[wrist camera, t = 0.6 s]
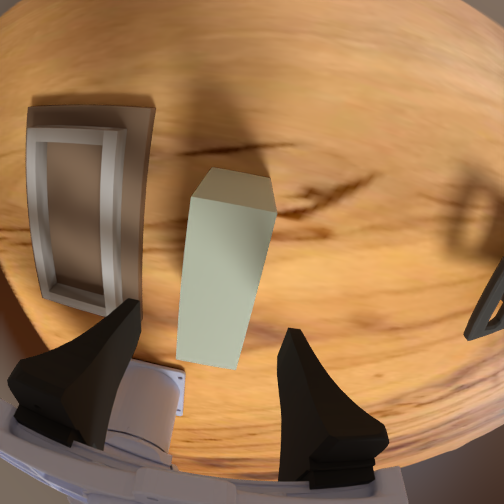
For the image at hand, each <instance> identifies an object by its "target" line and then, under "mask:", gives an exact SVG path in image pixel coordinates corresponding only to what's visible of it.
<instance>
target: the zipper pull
mask: <svg viewBox="0 0 504 504" xmlns="http://www.w3.org/2000/svg"><path fill="white" fill-rule="evenodd" d="M500 299H501V300H502V301H503V304H502V305H501V307H500V309H499V311H498V312H497V314H496V316H495V317H494V318H493V319H492V320H490V321H489V319H490V317H491V315H492V314H493V312H494V310H495V308H496V307H497V305H498V303H499V301H500ZM502 329H504V257H503V258H502V260H501V261H500V263H499V265H498V266H497V268H496V270H495V271H494V273H493V275H492V277H491V278H490V280H489V282H488V284H487V286H486V288H485V289H484V291H483V293H482V295H481V297H480V299H479V301H478V303H477V305H476V307H475V309H474V311H473V313H472V315H471V317H470V319H469V321H468V324H467V326H466V329H465V331H464V337H465V338H466V339H467V340H468V341H471V340H474V339H477V338H480V337H483V336H486V335H488V334H491V333H494V332H496V331H499V330H502Z"/></svg>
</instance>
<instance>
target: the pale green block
mask: <svg viewBox="0 0 504 504" xmlns="http://www.w3.org/2000/svg"><path fill="white" fill-rule="evenodd" d="M276 216H277V209H276V204H275V199H274V194H273V188H272V183H271V178H268V177H263V176H258V175H253V174H248V173H243V172H237V171H232V170H227V169H221V168H216V167H212V168H211V169H210V170H209V172H208V173H207V175H206V176H205V177H204V179H203V180H202V182H201V183H200V185H199V186H198V187H197V189H196V190H195V192H194V193H193V195H192V196H191V201H190V209H189V216H188V224H187V233H186V241H185V250H184V260H183V270H182V280H181V292H180V304H179V317H178V333H177V350H176V359H178V360H183V361H188V362H193V363H198V364H203V365H209V366H214V367H220V368H226V369H233V370H236V368H237V364H238V360H239V357H240V353H241V349H242V346H243V342H244V338H245V335H246V331H247V327H248V323H249V320H250V316H251V312H252V308H253V305H254V301H255V297H256V293H257V289H258V286H259V282H260V278H261V274H262V270H263V266H264V263H265V259H266V255H267V251H268V247H269V243H270V239H271V235H272V231H273V228H274V224H275V220H276Z"/></svg>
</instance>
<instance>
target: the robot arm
mask: <svg viewBox="0 0 504 504" xmlns="http://www.w3.org/2000/svg"><path fill="white" fill-rule="evenodd" d="M140 333H141V315H140V300H135V299H131V298H128V299H126V300H125V301H124V302H123V303H122V304H120V305H119V306H118V307H117V308H116V309H115V310H113V311H112V312H111V313H110V314H109V315H107V316H106V317H105V318H104V319H102V320H101V321H100V322H99V323H97V324H96V325H95V326H93V327H92V328H90V329H89V330H88V331H86V332H85V333H83V334H82V335H80V336H79V337H77V338H75V339H74V340H72V341H70V342H68V343H66V344H64V345H62V346H60V347H58V348H55V349H53V350H51V351H48V352H45V353H43V354H40V355H37V356H33V357H29V358H26V359H22V360H20V361H19V362H18V364H17V365H16V367H15V368H14V370H13V371H12V373H11V375H10V377H9V378H8V380H7V381H8V386H9V388H10V390H11V392H12V393H13V395H14V396H15V398H16V399H17V401H18V403H19V406H18V408H17V409H16V408H15V407H14V406H13V405H12V404H10V403H8V402H6V401H5V400H3V399H2V398H0V457H1V458H2V459H4V460H6V461H7V462H9V463H10V464H12V465H14V466H15V467H17V468H18V469H20V470H22V471H23V472H25V473H27V474H28V475H30V476H32V477H34V478H35V479H37V480H39V481H41V482H43V483H44V484H46V485H48V486H50V487H52V488H54V489H56V490H58V491H60V492H62V493H64V494H66V495H67V499H68V501H69V502H70V504H409V503H408V499H407V494H406V490H405V486H404V482H403V478H402V474H401V470H400V467H399V466H395V467H389V468H383V469H379V470H376V471H373V466H374V465H375V459H374V458H375V457H376V456H377V455H378V454H380V453H381V452H382V451H383V450H384V449H385V448H386V447H387V446H388V444H389V439H388V435H387V431H386V428H385V426H384V424H382V423H381V422H379V421H378V420H376V419H375V418H373V417H372V416H370V415H369V414H368V413H366V412H365V411H364V410H363V409H361V408H360V407H359V406H358V405H356V404H355V403H354V402H353V401H352V400H351V399H350V398H349V397H348V396H347V395H346V394H345V393H344V392H343V391H342V390H341V389H340V388H339V387H338V386H337V384H336V383H335V382H334V381H333V380H332V378H331V377H330V376H329V375H328V373H327V372H326V370H325V369H324V368H323V366H322V365H321V363H320V362H319V360H318V358H317V357H316V355H315V354H314V352H313V350H312V349H311V347H310V345H309V343H308V342H307V340H306V338H305V336H304V335H303V333H302V331H301V330H300V329H294V328H288V330H287V333H286V335H285V338H284V340H283V343H282V346H281V348H280V351H279V353H278V356H277V379H278V388H279V397H280V406H281V452H280V467H279V477H278V482H277V481H253V480H239V479H229V478H220V477H212V476H205V475H198V474H192V473H186V472H181V471H179V470H178V467H177V466H176V465H174V464H171V462H172V455H170V454H168V451H169V446H170V441H171V436H172V431H173V426H174V421H175V416H176V415H177V416H182V415H183V403H184V388H185V375H186V374H185V372H184V371H183V370H179V369H174V368H169V367H165V366H160V365H156V364H152V363H148V362H144V361H140V360H136V359H132V356H133V354H134V351H135V349H136V346H137V343H138V340H139V337H140Z"/></svg>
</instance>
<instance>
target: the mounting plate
mask: <svg viewBox="0 0 504 504" xmlns="http://www.w3.org/2000/svg"><path fill="white" fill-rule="evenodd" d="M155 111H156V108H147V107H133V106H115V105H47V106H33V107H28V113H27V128H26V189H27V204H28V216H29V225H30V233H31V241H32V247H33V254H34V260H35V265H36V271H37V276H38V281H39V285H40V290H41V294H42V298H45V299H48V300H51V301H54V302H57V303H60V304H63V305H66V306H70V307H73V308H76V309H80V310H83V311H86V312H90V313H93V314H97V315H100V316H104V317H106V316H107V315H109V314H110V313H111V312H112V311H113V310H115V309H116V308H117V307H118V306H119V305H120V304H122V303H123V302H124V301H125V300H126V299H128V298H131V299H135V300H140V315H141V321H142V319H143V316H142V251H143V226H144V209H145V195H146V183H147V173H148V163H149V154H150V146H151V138H152V131H153V124H154V117H155Z"/></svg>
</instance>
